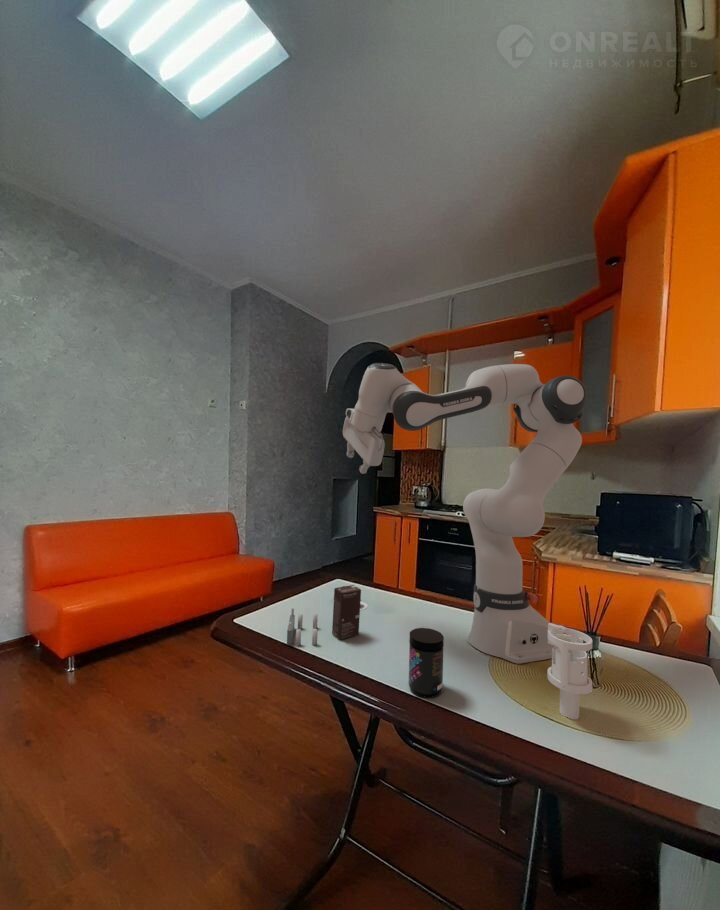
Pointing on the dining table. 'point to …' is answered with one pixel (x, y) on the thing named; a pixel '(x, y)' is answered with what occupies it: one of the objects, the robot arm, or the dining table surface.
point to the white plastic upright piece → (569, 668)
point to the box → (346, 612)
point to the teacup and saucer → (364, 605)
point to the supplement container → (426, 662)
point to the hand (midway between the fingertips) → (355, 464)
